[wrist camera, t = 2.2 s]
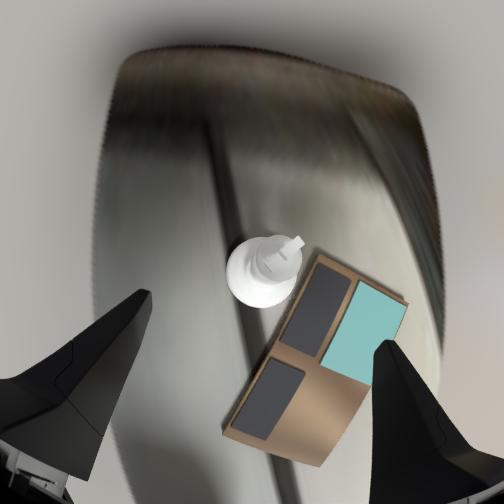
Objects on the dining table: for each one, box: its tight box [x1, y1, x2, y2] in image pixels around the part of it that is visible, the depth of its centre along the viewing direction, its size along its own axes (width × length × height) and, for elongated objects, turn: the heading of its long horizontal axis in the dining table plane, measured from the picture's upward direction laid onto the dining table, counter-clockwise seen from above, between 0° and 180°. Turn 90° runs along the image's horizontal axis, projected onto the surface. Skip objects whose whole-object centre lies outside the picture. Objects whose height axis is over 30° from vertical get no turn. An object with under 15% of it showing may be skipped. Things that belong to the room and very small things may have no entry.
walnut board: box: [222, 253, 409, 467], centre depth 19 cm, size 15×8×1 cm, turn 153°
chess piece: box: [226, 235, 305, 308], centre depth 15 cm, size 5×5×10 cm
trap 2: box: [231, 358, 306, 441], centre depth 18 cm, size 6×3×1 cm, turn 153°
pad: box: [320, 281, 407, 386], centre depth 19 cm, size 7×5×1 cm
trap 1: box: [280, 263, 352, 358], centre depth 19 cm, size 6×3×1 cm, turn 153°
